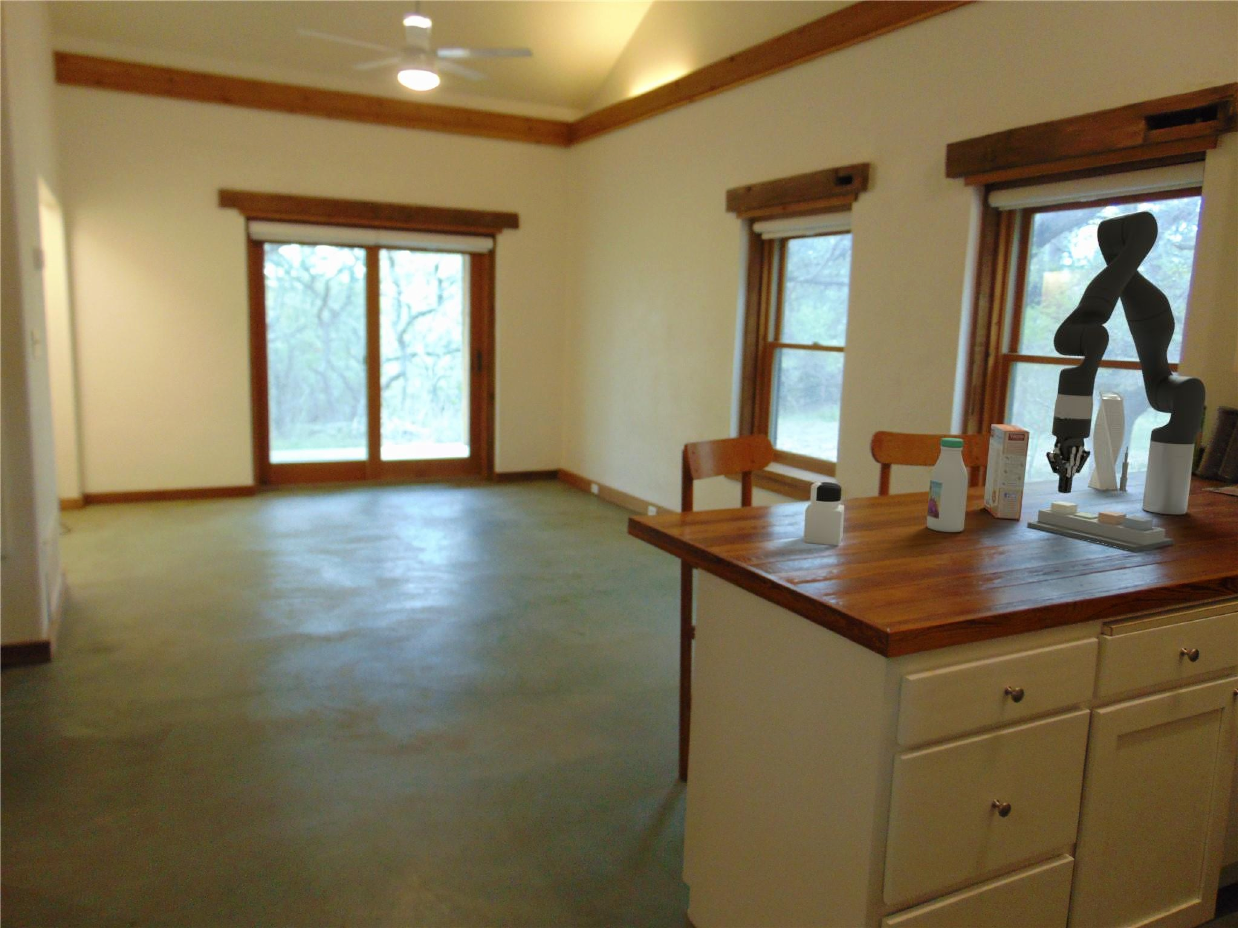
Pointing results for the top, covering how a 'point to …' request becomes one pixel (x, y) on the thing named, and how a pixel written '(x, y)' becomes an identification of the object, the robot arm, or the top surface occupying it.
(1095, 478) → the skyscraper
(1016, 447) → the cracker box
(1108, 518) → the block
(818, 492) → the medicine bottle
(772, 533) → the top surface
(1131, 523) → the key slate
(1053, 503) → the key ivory
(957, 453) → the milk bottle
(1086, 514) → the key sage
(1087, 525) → the keypad
